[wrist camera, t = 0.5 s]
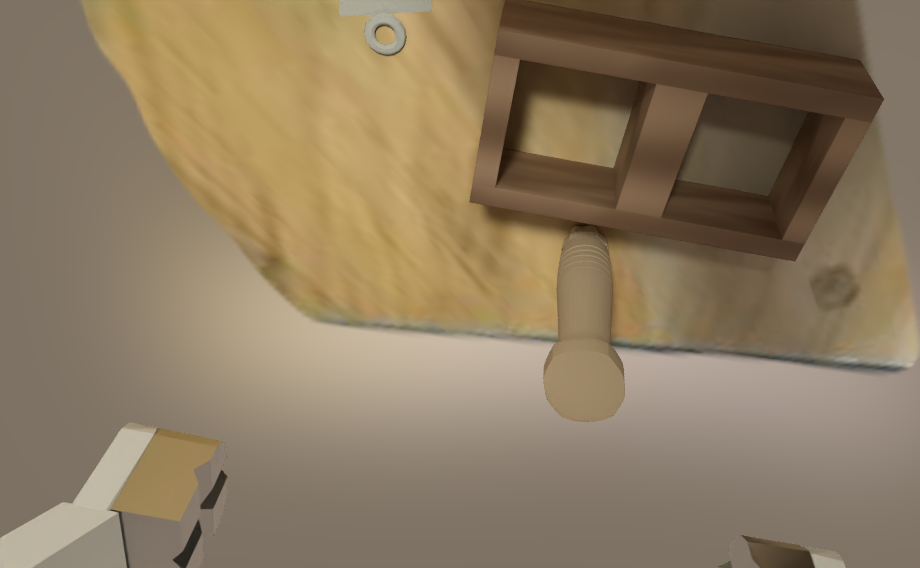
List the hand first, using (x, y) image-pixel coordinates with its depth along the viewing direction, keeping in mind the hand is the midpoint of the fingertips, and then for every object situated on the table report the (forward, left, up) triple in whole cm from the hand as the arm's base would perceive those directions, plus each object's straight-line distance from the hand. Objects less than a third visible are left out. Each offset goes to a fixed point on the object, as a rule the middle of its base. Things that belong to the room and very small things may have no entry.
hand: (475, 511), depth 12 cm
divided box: (+13, +9, -40) cm, 43 cm away
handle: (+24, +7, -41) cm, 48 cm away
